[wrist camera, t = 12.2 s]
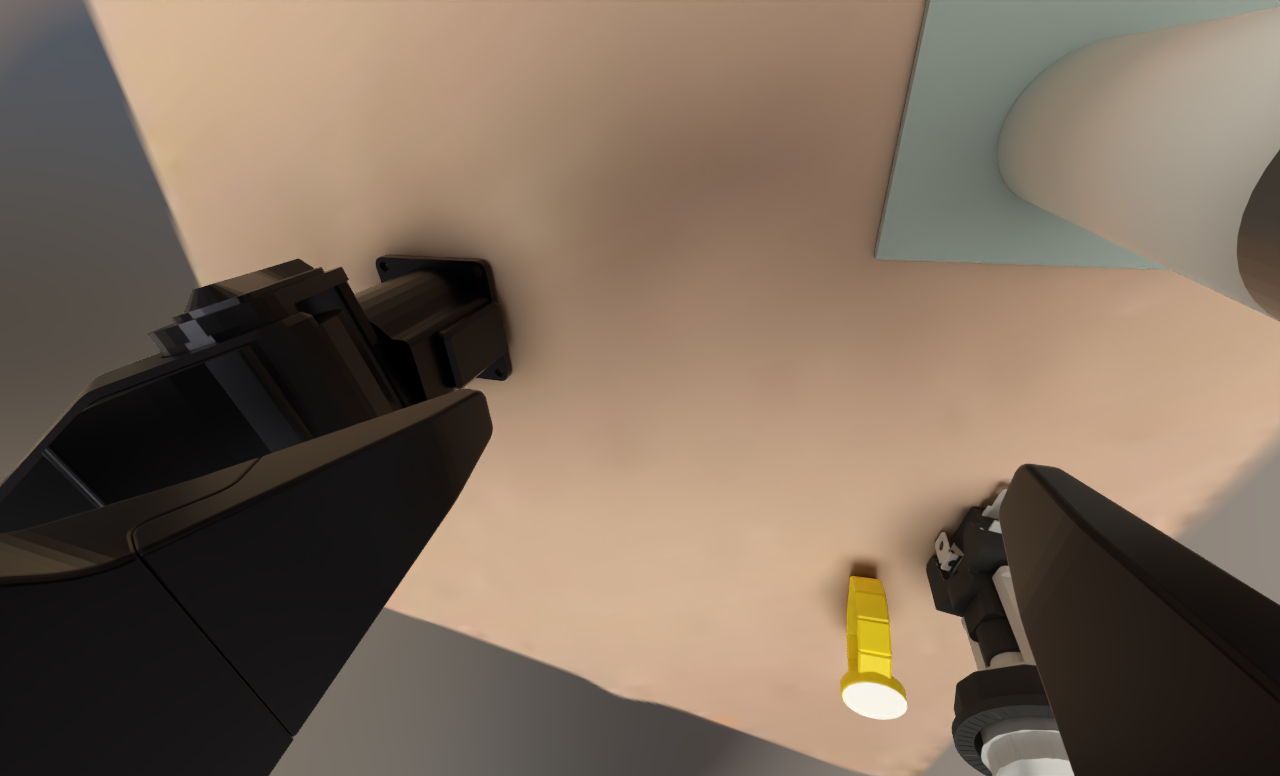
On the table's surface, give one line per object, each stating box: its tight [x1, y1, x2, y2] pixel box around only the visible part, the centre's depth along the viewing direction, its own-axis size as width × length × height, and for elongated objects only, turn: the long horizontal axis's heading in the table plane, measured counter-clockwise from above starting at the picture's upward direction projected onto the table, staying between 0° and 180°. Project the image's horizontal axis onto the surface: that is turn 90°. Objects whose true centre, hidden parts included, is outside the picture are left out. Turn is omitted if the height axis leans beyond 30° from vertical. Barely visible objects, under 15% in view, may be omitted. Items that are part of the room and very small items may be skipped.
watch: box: [840, 576, 907, 720], centre depth 24 cm, size 6×3×6 cm, turn 9°
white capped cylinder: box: [997, 7, 1280, 321], centre depth 9 cm, size 4×4×12 cm
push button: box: [926, 489, 1074, 776], centre depth 18 cm, size 7×5×10 cm
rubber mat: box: [874, 0, 1280, 270], centre depth 14 cm, size 10×8×1 cm
